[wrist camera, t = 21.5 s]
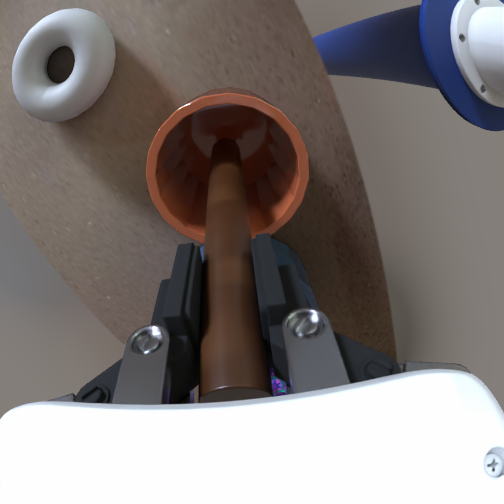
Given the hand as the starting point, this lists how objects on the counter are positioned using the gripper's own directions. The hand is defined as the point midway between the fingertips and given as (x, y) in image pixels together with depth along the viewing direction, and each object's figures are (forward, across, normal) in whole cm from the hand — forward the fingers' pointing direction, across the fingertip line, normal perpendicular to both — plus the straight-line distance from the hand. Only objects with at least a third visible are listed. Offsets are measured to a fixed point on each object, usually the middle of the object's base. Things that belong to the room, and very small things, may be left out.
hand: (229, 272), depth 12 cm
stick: (+12, 0, -2) cm, 13 cm away
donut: (+16, +12, -12) cm, 23 cm away
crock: (+16, 0, -2) cm, 16 cm away
